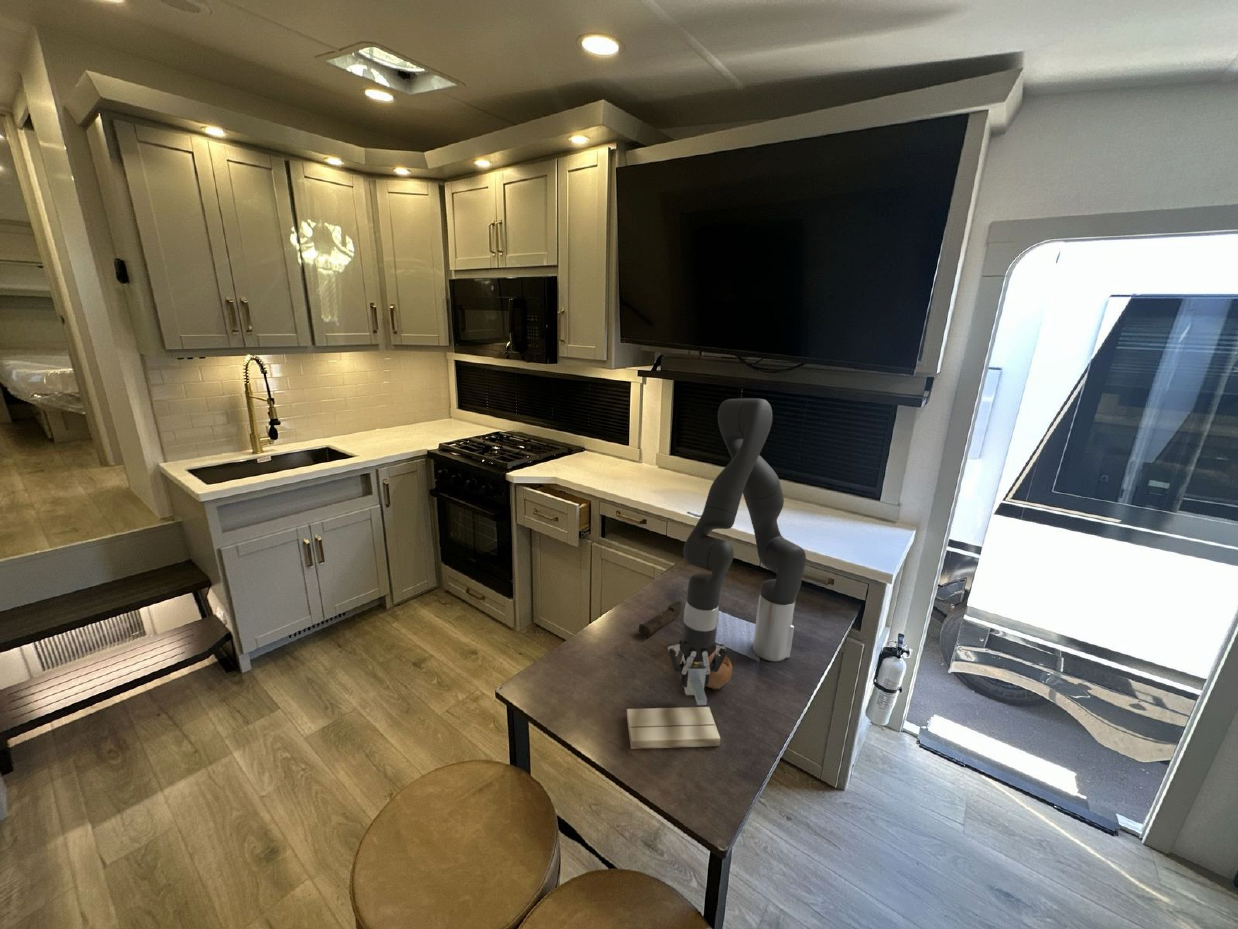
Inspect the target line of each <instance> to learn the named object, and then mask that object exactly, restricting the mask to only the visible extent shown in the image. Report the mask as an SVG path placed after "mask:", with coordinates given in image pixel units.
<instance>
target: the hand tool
mask: <svg viewBox="0 0 1238 929" xmlns="http://www.w3.org/2000/svg"><path fill="white" fill-rule="evenodd" d="M682 612H683V603H682V602H681V601H675V602H673V603H671V604H668V607H667V609H665V610H664V611H662V612H661V613H659V614H657V615H656V616H654V617H652V618H651V619H649V620H648V621H646V622H644V623H640V624H639V625H638V633H639V635H640V634H641V635H640V636H641V637H644V638H645V637H646V639H648V638H649V637H650V636H652V634H654V633H655V632H656V631H658V630H659V629H660V628H662V627H663V626H665V625H667V624H668V623H670V622H671V621H676V620H677V619H678V617H680V615H681V614H682Z"/></svg>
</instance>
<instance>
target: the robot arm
mask: <svg viewBox="0 0 1238 929" xmlns="http://www.w3.org/2000/svg"><path fill="white" fill-rule="evenodd" d="M717 423H718V427H719V431H720V434H721V436H722V439H723V441H724V444H725V447H726V448H727V450H728V453H729V454H730V458H731V461H730V462H729V463H728V464H727V465H726V466H725V467H724V468H723V469H722V470H721V472H719V474H718V475H717V476H716V478H715V479H714V480H713V482H712V484H711V485H710V489H709V491H708V494H707V498H706V501H705V505H704V507H703V511H702V513H701V516H700V518H699V520H698V521H697V523H696V525H695V526H694V528H693V530H692V531H691V532H690V534H689V535H688V537H687V539H686V541H685V542H684V545H683V551H682V552H683V558H684V560H685V562H687V564H689V565H691V566H694V567H698V568H701V569H704V570H708V571H710V572H711V573H702V572H701V573H696V574H693V575H691V577H690V578H689V581H688V586H687V594H686V595H687V596H686V602H685V606H684V612H683V620H682V621H683V622H682V629H681V630H682V631H681V638H680V640H679V642H678V644H674V645H673V644H672V643H668V644H667V650H668V654H669V657H670V660H671V664H672V668H673V671H674V672H675V673H679V675H678V680H679V684H680V686H682V687H681V688H684V687H686V681H687V671H688V667H690V666H691V664H692V662H695V661H699V662H703V665H704V667H706V676H705V684H704V688H706V687H707V686H706V685H708V682H709V674H710V673H711V672H713V671H714V672H717V671H718V670H719V668H720V666H721V664H722V662H723V660H724V658H725V656H726V655H727V654H728V651H727V649H726V647H725V645H724V644H722V643H721V644H716V640H717V639H716V638H717V630H718V624H719V616H720V614H719V609H720V608H719V605H720V596H721V590H722V586H723V583H724V581H725V577H726V575H727V573H728V571H729V569H730V567H731V565H732V563H733V560H734V558H735V552H734V548H733V545H732V544H731V543H730V542H729V541H727V540H725V539H721V538H717V537H714V536H710V535H709V534H710V533H711V532H712V531H713V530H729V529H731V528H732V527H734V524H735V521H736V517H737V514H738V510H739V507H740V504H741V499H742V496H743V498H744V502H745V505H746V508H747V511H748V513H749V518H750V521H751V525H752V528H753V533H754V538H755V543H756V544H755V545H756V551H757V556H758V558H759V561H760V563H761V564H762V566H764V567H765V568H766V569H768V570H770V571H771V572H773V573H774V574H776V578H773V579H767V580H765V581H762V583H761V585H760V591H759V598H758V605H757V613H756V619H755V620H756V621H755V625H754V626H755V627H754V633H753V641H752V651H753V652H754V654H756V655H757V656H758V657H759V658H761V659H763V660H767V661H770V662H781V661H784V660H785V659H786V658H790V657H791V650H792V645H793V638H794V631H795V626H794V625H793V618H794V616H793V615H794V611H795V607H796V606H795V605H796V600H797V596H798V594H799V591H800V589H801V585H802V580H803V577H804V572H805V568H806V561H807V555H806V552H805V549H804V548H802V546H799V545H798V544H796V543H794V542H793V541H792V542H791V541H790V540H788V539H786V538H785V537H784V536H782V534H781V532H780V530H779V529H780V528H779V525H778V518H779V516H780V514H781V513H782V511H783V507H784V502H785V500H784V493H783V489H782V485H781V482H780V479H779V477H778V474H777V473H776V472H775V470H774V469H773V468H772V466H770V465H769V463H768V462H767V461H766V460H765V459H764V458H763V457H762V456H761V455H760V454H761V451H762V450H763V447H764V445H765V443H766V440H767V438H768V436H769V433H770V432H771V427H772V424H773V409H772V406H771V404H770V403H769V402H768V400H766V399H764V398H763V399H762V398H728V399H726V400H724V401H722V402H721V404H720V405H719V407H718V411H717ZM680 651H681V652H682V657H681V661H680V662H678V660H677V657H678V655H679V652H680ZM714 651H715V655H714V657H713V659H712V661H711V663H709V659H708V657H709V656H710V655H711V654H712V653H713V652H714Z"/></svg>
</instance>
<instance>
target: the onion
mask: <svg viewBox="0 0 1238 929" xmlns="http://www.w3.org/2000/svg"><path fill="white" fill-rule="evenodd" d="M714 655H715V651H714V652H713V653H712V654H711V655H710V656H709V657H708V659H709V663H711V661H712V659H713V657H714ZM732 675H733V664H732V662H731V660H730V658H729V657H728V656H727V655H726V656H725V658H724V660H723V662H722V664H721V666H720V668H719V670H718V671H717V672H714V671H713V672H711V673H710V674H709V682H708V685H706V687H707V688H710V689H712V690H713V691H714V690H720V689H721V688H722V687H724V686H725V685H727V684H728V682H730V680H731V678H732Z"/></svg>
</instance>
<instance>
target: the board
mask: <svg viewBox="0 0 1238 929" xmlns="http://www.w3.org/2000/svg"><path fill="white" fill-rule="evenodd" d="M626 720H627V721H626V722H627V729H628V736H629V737H628V738H629V743H630V750H631V749H632V750H637V749H640V750H641V749H643V750H644V749H665V748H666V749H667V748H668V749H670V748H672V749H673V748H699V747H701V748H702V747H720V745H721V736H720V733H719V731H718V728H717V724H716V723H715V720H714V717H713V713H712V710H711V708H710V706H697V707H696V706H695V707H694V706H693V707H687V706H686V707H656V708H653V707H652V708H650V707H649V708H626Z"/></svg>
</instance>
